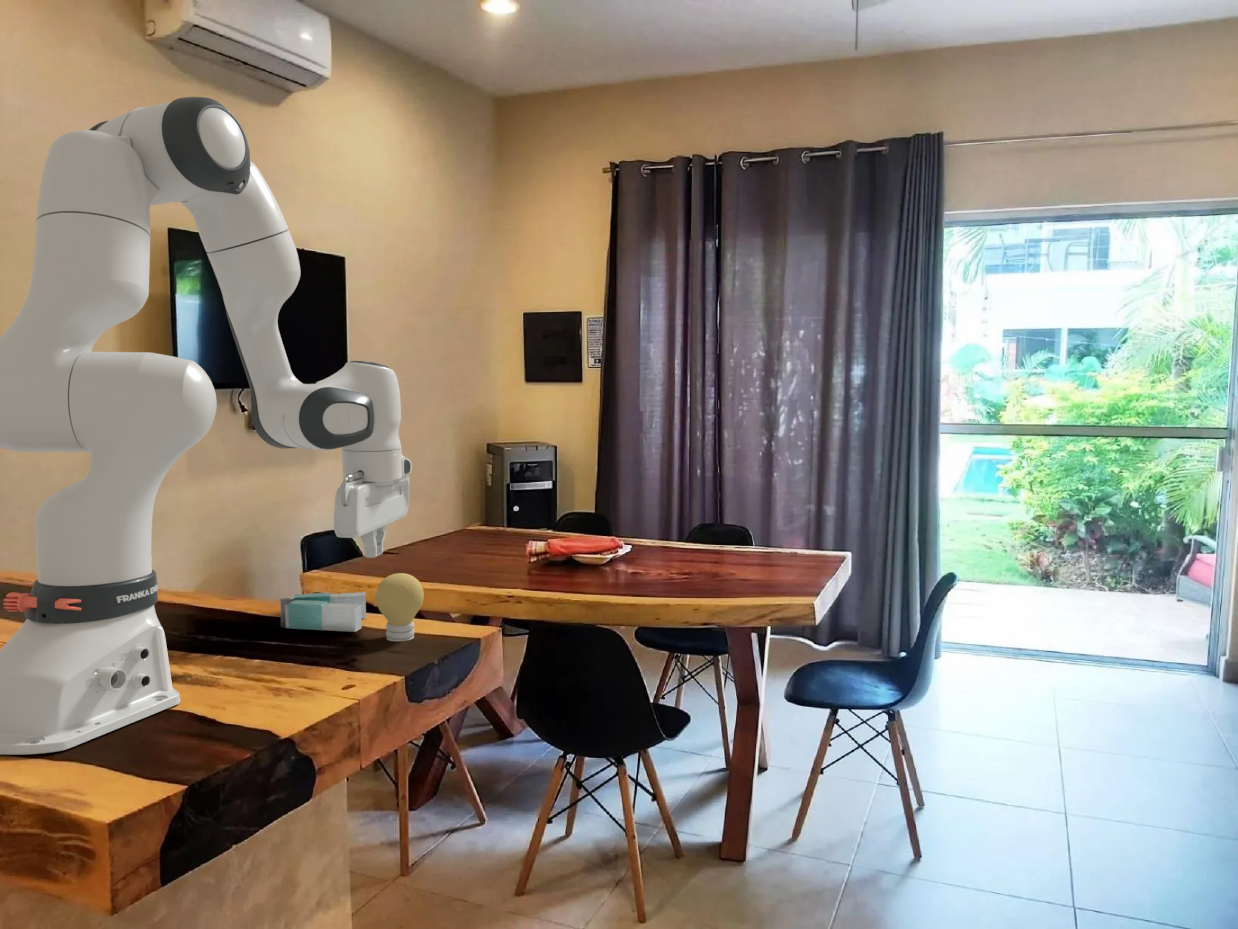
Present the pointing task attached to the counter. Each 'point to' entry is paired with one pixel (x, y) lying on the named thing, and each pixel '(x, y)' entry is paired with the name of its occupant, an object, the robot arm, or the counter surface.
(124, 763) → the counter surface
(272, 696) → the counter surface
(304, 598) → the tong arm
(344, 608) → the tongs fixed arm
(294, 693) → the counter surface
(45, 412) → the robot arm
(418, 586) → the light bulb
